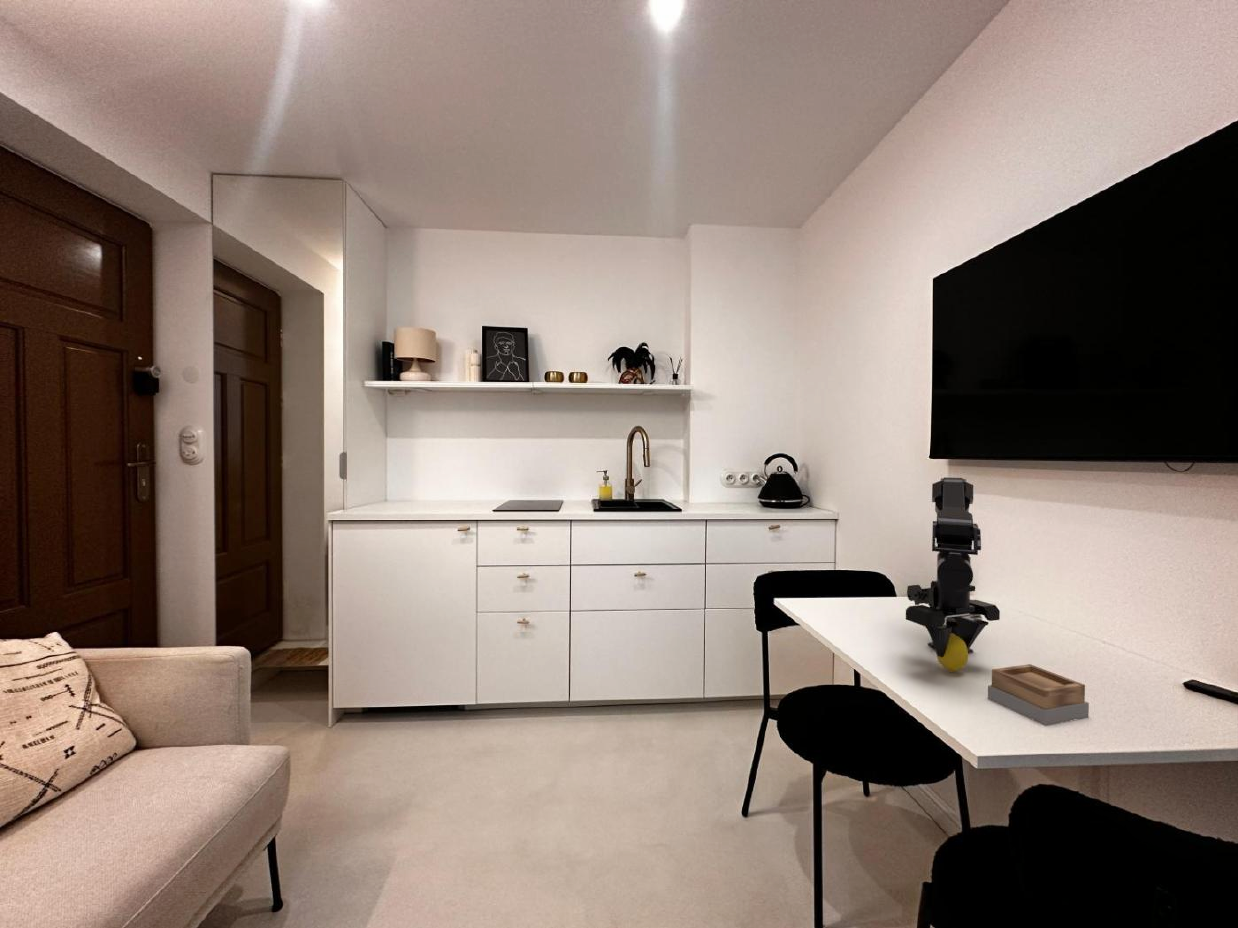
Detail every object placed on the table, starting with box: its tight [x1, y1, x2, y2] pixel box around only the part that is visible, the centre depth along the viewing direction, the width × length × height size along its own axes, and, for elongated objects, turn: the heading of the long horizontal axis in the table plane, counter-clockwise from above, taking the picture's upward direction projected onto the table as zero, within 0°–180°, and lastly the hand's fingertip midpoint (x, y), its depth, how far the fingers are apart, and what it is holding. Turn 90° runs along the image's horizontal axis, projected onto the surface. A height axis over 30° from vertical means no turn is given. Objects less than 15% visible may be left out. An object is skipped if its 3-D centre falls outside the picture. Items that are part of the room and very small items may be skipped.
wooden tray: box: [991, 663, 1086, 709], centre depth 94 cm, size 9×9×3 cm
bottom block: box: [987, 684, 1090, 727], centre depth 94 cm, size 10×10×3 cm
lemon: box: [935, 633, 969, 673], centre depth 109 cm, size 6×6×8 cm
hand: (951, 654), depth 109 cm, fingers closed on lemon, 5 cm apart
